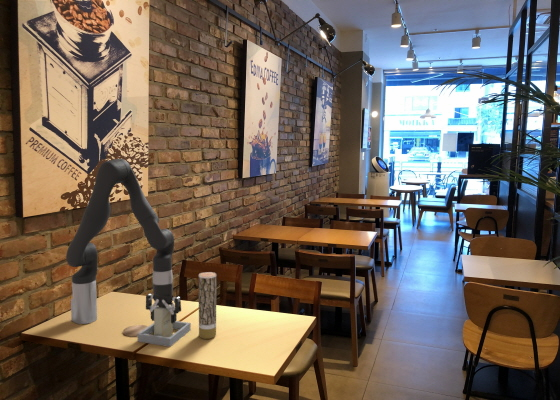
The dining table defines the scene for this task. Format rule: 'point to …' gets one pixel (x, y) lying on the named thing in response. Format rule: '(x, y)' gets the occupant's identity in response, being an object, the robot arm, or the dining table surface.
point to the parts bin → (160, 340)
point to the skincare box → (162, 322)
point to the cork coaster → (134, 330)
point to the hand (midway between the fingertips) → (163, 321)
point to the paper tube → (207, 305)
